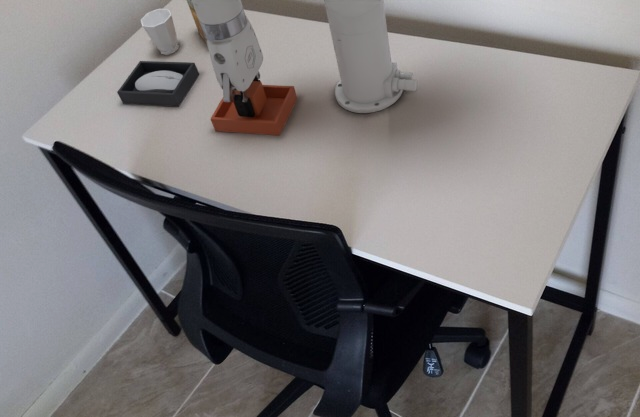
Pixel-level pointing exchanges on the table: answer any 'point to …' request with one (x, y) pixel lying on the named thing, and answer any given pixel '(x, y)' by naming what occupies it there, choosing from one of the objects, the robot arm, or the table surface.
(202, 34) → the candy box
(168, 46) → the cup
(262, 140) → the table surface
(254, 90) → the terracotta block
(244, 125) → the terracotta bin
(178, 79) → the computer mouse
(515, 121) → the table surface
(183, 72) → the charcoal bin
